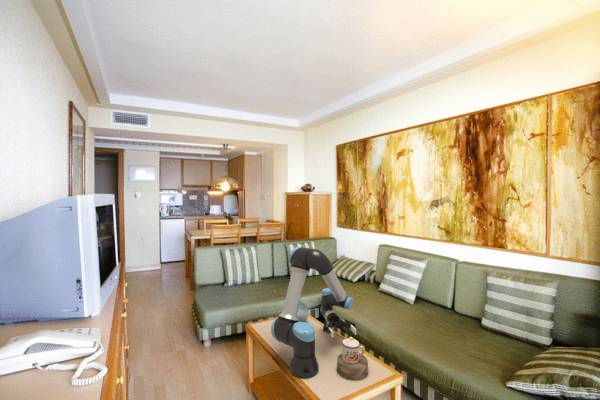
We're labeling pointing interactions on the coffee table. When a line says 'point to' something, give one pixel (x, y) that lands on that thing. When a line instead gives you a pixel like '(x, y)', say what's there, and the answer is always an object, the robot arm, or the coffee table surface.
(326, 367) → the coffee table surface
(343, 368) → the walnut riser
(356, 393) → the coffee table surface
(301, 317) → the decorative ball
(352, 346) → the teacup with lid
